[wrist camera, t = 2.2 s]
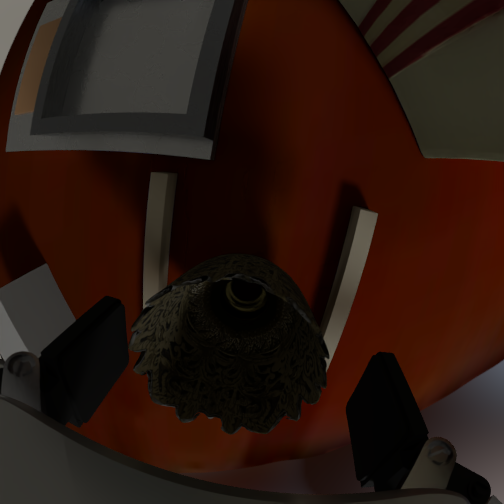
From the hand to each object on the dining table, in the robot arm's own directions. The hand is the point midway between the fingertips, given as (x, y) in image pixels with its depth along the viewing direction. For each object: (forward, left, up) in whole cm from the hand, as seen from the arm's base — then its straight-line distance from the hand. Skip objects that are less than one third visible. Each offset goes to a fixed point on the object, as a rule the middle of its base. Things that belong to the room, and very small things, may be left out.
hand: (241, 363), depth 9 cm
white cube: (-6, +18, -8) cm, 20 cm away
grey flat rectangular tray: (+14, +13, -8) cm, 20 cm away
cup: (0, +1, -8) cm, 8 cm away
